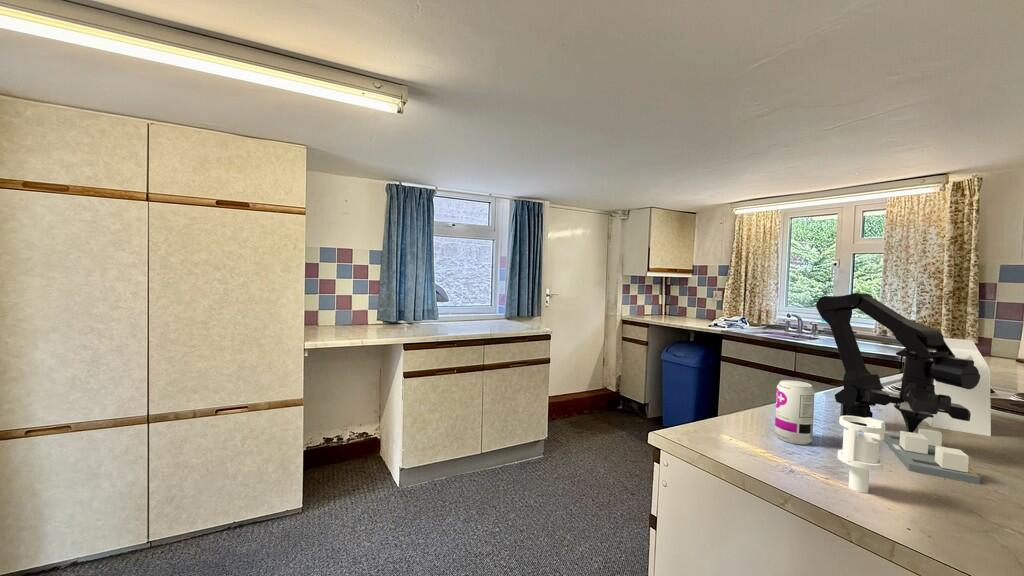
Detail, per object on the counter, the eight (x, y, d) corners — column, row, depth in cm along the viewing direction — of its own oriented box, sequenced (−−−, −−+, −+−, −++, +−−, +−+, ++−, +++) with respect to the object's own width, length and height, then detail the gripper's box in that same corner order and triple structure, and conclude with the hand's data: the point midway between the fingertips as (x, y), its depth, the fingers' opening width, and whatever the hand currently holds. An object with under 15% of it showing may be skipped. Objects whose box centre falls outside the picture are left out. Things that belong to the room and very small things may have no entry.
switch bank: (909, 470, 91) (909, 463, 91) (880, 437, 111) (881, 432, 110) (979, 484, 86) (979, 476, 86) (937, 447, 105) (937, 441, 105)
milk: (973, 424, 124) (978, 339, 123) (990, 436, 114) (996, 343, 113) (919, 415, 130) (923, 335, 129) (931, 426, 120) (936, 339, 120)
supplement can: (778, 442, 106) (781, 385, 105) (771, 431, 113) (774, 378, 113) (816, 448, 103) (819, 389, 102) (806, 436, 110) (809, 381, 110)
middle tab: (904, 450, 98) (905, 436, 98) (899, 444, 102) (900, 430, 102) (927, 454, 96) (928, 439, 96) (921, 448, 100) (922, 434, 100)
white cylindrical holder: (869, 501, 78) (873, 424, 78) (828, 483, 85) (832, 412, 84) (889, 494, 81) (893, 419, 80) (848, 477, 87) (851, 408, 87)
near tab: (941, 467, 90) (942, 452, 89) (934, 460, 93) (935, 445, 93) (967, 472, 88) (968, 456, 87) (959, 465, 91) (960, 449, 91)
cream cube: (919, 443, 103) (920, 429, 103) (913, 438, 107) (914, 424, 106) (941, 447, 101) (942, 433, 101) (934, 441, 105) (935, 428, 104)
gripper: (878, 375, 102) (870, 435, 103) (986, 392, 93) (975, 459, 94) (868, 367, 112) (860, 423, 113) (964, 382, 102) (955, 442, 103)
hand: (909, 436), depth 105 cm, fingers closed
